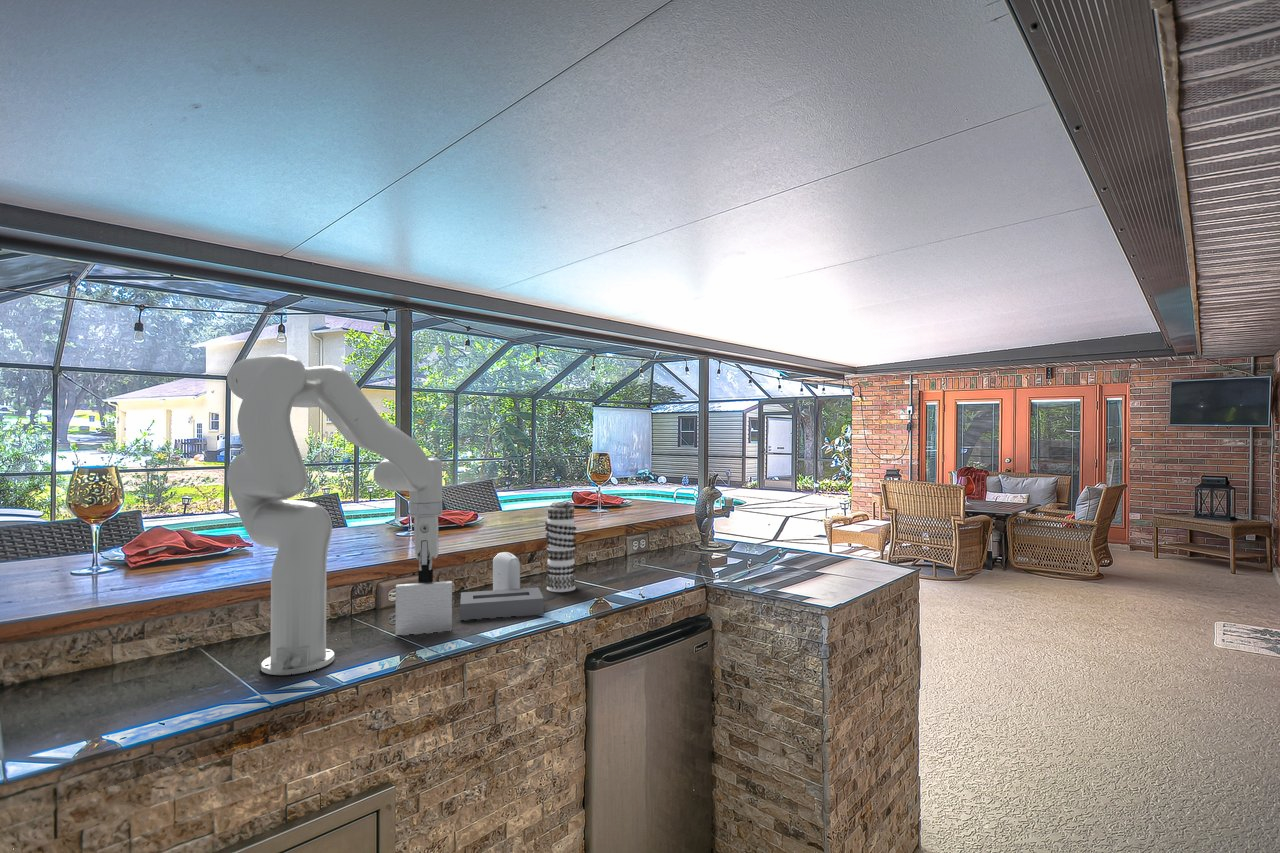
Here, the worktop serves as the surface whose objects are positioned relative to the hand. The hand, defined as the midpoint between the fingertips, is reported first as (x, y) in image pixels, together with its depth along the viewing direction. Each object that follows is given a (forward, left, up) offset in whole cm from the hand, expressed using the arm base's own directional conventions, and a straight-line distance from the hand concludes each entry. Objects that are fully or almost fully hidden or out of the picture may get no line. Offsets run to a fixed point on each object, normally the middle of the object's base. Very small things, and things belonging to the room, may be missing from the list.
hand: (425, 586), depth 150 cm
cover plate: (-8, 0, -9) cm, 12 cm away
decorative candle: (+25, -36, -9) cm, 45 cm away
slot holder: (+5, -18, -9) cm, 21 cm away
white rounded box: (+19, -20, -9) cm, 29 cm away
